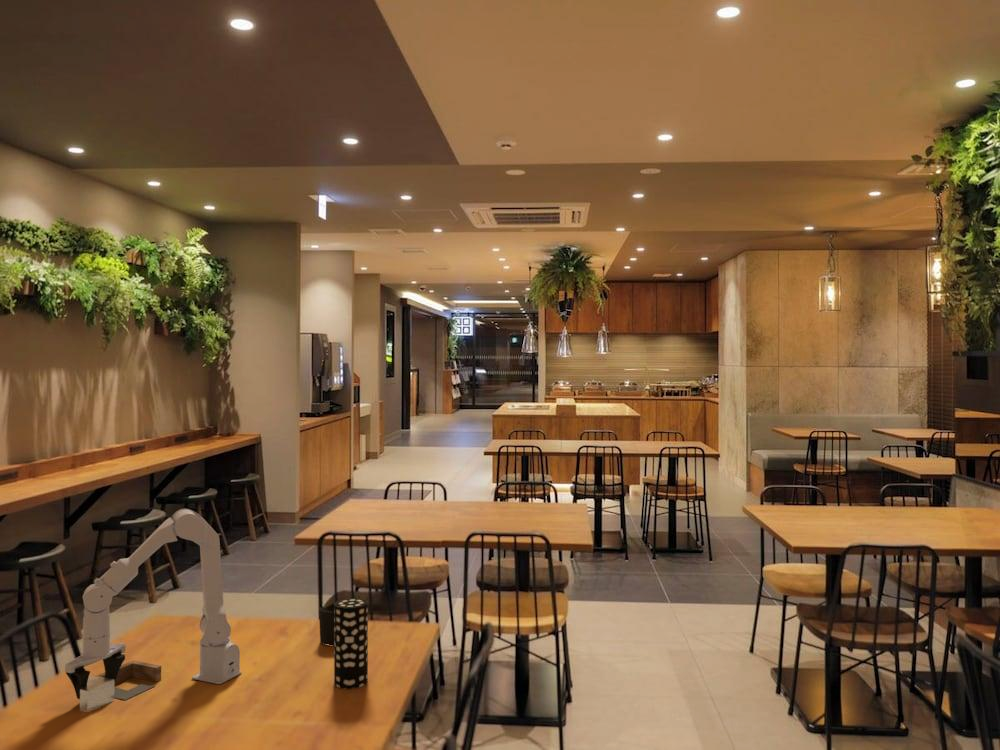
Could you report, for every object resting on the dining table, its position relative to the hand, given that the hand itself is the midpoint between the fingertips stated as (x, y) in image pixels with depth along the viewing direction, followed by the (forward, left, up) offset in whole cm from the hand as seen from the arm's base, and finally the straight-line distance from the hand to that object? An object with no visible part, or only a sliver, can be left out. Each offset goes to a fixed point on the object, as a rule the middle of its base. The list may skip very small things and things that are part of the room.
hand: (96, 692), depth 171 cm
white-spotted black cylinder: (-51, -32, -2) cm, 60 cm away
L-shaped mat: (-3, -7, -2) cm, 7 cm away
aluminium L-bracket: (-1, +2, -2) cm, 3 cm away
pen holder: (-30, -55, -2) cm, 62 cm away
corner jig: (0, -9, -2) cm, 9 cm away
